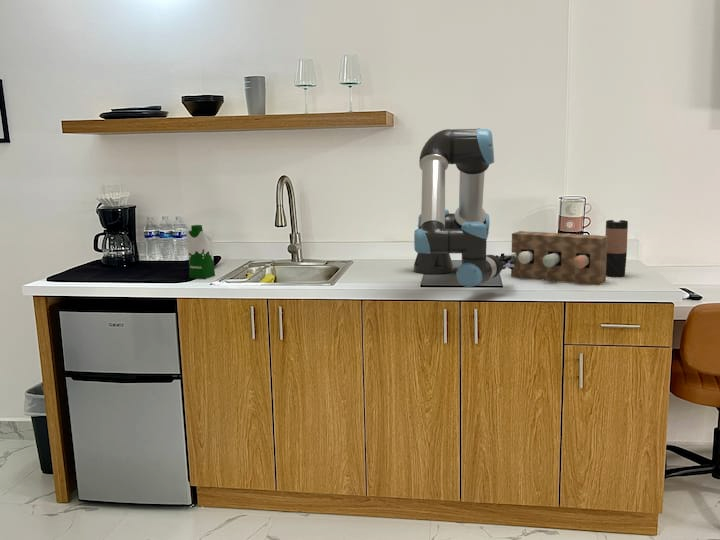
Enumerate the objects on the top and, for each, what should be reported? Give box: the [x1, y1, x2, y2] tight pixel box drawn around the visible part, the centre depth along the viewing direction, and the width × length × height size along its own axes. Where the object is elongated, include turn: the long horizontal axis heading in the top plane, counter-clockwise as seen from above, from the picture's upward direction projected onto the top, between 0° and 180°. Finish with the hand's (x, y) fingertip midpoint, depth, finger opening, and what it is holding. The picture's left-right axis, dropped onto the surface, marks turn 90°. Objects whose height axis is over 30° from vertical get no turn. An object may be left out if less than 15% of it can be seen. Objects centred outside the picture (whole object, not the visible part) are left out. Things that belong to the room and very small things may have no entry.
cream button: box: [518, 250, 534, 264], centre depth 267 cm, size 4×7×4 cm, turn 147°
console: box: [510, 230, 608, 286], centre depth 264 cm, size 32×8×16 cm, turn 57°
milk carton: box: [185, 224, 216, 280], centre depth 281 cm, size 9×9×20 cm
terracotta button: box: [574, 254, 590, 268], centre depth 256 cm, size 4×7×4 cm, turn 147°
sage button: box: [543, 253, 561, 267], centre depth 259 cm, size 4×7×4 cm, turn 147°
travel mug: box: [604, 219, 629, 278], centre depth 269 cm, size 8×8×20 cm
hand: (513, 256), depth 256 cm, fingers closed
